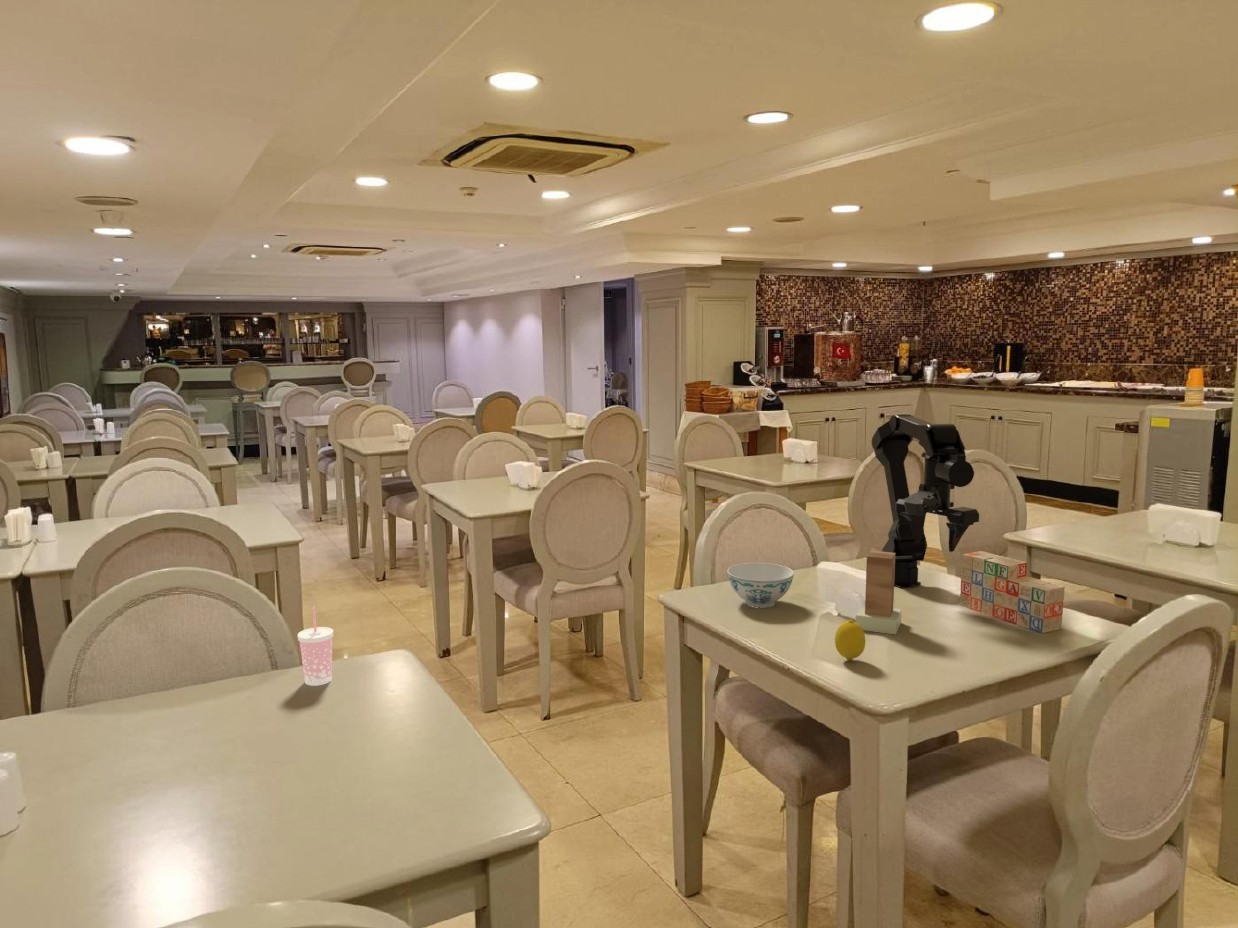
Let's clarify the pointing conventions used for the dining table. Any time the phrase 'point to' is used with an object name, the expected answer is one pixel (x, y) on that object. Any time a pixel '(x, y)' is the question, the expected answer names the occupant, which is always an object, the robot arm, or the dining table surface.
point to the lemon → (850, 640)
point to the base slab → (879, 622)
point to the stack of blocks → (1010, 592)
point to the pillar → (880, 583)
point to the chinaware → (760, 582)
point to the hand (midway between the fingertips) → (934, 547)
